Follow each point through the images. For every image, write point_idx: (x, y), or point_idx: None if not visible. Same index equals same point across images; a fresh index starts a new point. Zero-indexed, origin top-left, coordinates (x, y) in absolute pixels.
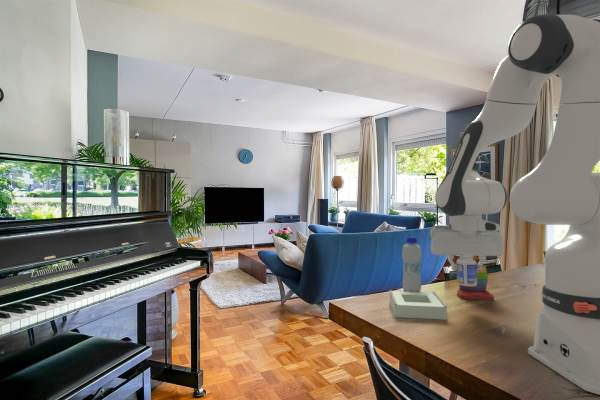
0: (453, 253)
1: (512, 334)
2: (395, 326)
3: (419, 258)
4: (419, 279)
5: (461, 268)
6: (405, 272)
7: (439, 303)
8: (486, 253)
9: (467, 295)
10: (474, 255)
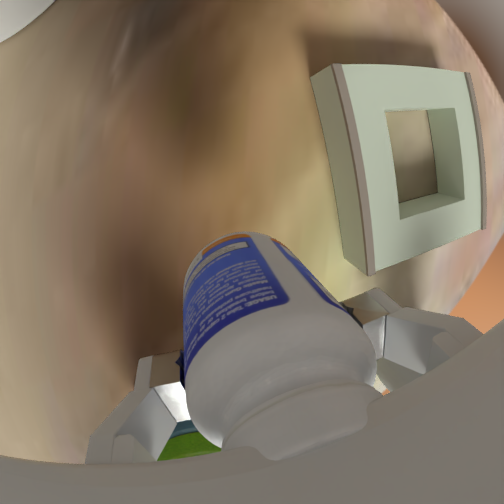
0: (486, 350)
1: (104, 25)
2: (425, 15)
3: None
4: (403, 373)
5: (325, 289)
6: None
7: (359, 108)
8: (61, 481)
9: None
10: (211, 453)
